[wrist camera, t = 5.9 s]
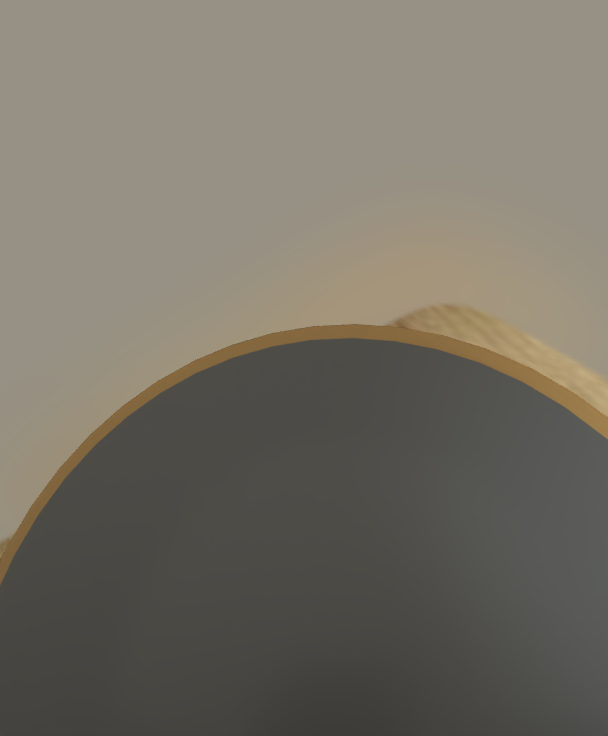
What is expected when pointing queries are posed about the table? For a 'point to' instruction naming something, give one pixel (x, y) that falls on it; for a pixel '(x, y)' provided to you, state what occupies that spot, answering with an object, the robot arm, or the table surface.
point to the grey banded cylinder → (319, 552)
